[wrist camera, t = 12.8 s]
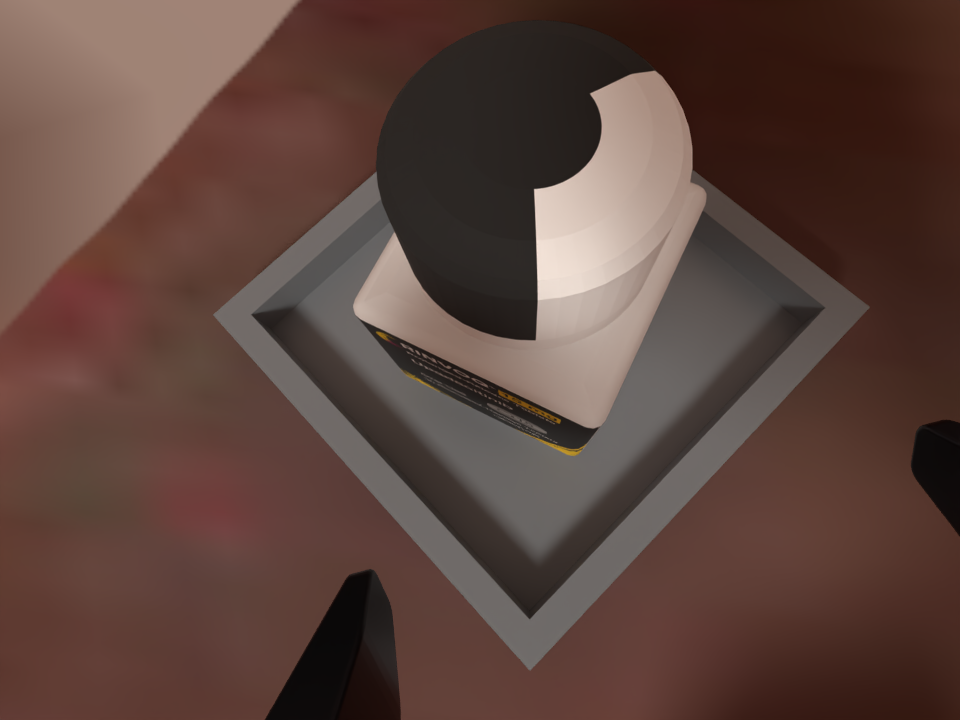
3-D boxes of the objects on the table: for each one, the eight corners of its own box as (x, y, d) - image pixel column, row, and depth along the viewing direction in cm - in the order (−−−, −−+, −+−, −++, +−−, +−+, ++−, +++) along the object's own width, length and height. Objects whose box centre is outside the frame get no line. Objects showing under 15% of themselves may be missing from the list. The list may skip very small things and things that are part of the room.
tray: (529, 653, 20) (529, 670, 18) (244, 335, 24) (213, 314, 22) (832, 330, 22) (870, 307, 20) (526, 84, 26) (526, 40, 24)
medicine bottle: (400, 373, 22) (263, 215, 11) (487, 216, 24) (448, -75, 12) (576, 460, 21) (637, 387, 9) (657, 288, 22) (796, 39, 11)
